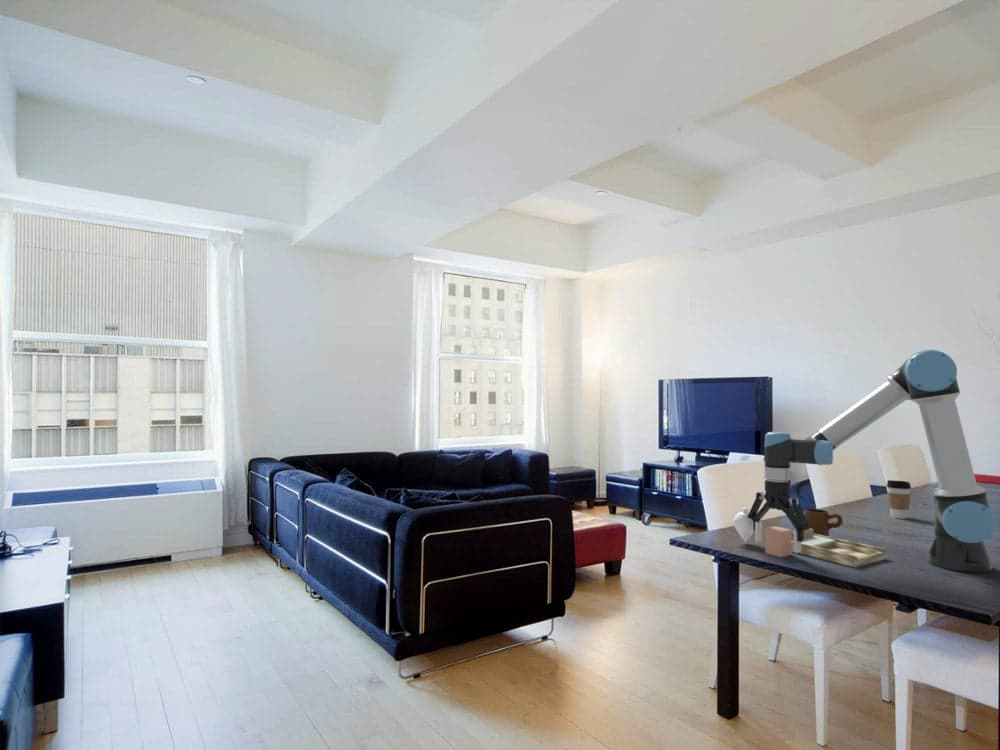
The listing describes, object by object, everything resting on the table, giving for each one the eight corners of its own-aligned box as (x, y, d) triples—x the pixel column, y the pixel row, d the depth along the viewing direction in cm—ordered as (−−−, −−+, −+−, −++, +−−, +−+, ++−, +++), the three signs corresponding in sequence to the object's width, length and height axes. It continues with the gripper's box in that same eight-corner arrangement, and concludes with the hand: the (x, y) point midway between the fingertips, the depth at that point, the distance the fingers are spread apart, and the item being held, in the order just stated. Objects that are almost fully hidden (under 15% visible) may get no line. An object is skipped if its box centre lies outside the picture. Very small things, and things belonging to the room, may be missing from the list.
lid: (835, 541, 196) (835, 532, 196) (809, 548, 189) (809, 537, 189) (795, 533, 208) (795, 524, 208) (769, 538, 201) (769, 529, 201)
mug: (844, 538, 210) (844, 511, 210) (841, 542, 204) (840, 515, 204) (807, 533, 217) (807, 507, 217) (802, 537, 211) (802, 511, 211)
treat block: (791, 554, 189) (791, 529, 189) (781, 557, 186) (780, 531, 186) (775, 550, 194) (775, 526, 194) (765, 553, 191) (765, 528, 191)
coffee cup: (882, 515, 248) (881, 479, 248) (900, 514, 249) (900, 479, 249) (897, 519, 239) (897, 482, 240) (916, 519, 240) (916, 482, 241)
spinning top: (728, 541, 205) (728, 507, 206) (745, 539, 208) (745, 505, 209) (745, 547, 198) (744, 511, 199) (762, 544, 201) (762, 509, 201)
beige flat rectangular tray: (885, 558, 184) (885, 548, 184) (856, 567, 175) (855, 556, 175) (794, 538, 210) (794, 529, 210) (764, 545, 201) (764, 535, 201)
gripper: (822, 484, 182) (822, 554, 181) (750, 474, 203) (750, 536, 203) (807, 486, 178) (808, 557, 178) (736, 475, 199) (736, 539, 199)
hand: (777, 546), depth 190 cm, fingers open, 13 cm apart
